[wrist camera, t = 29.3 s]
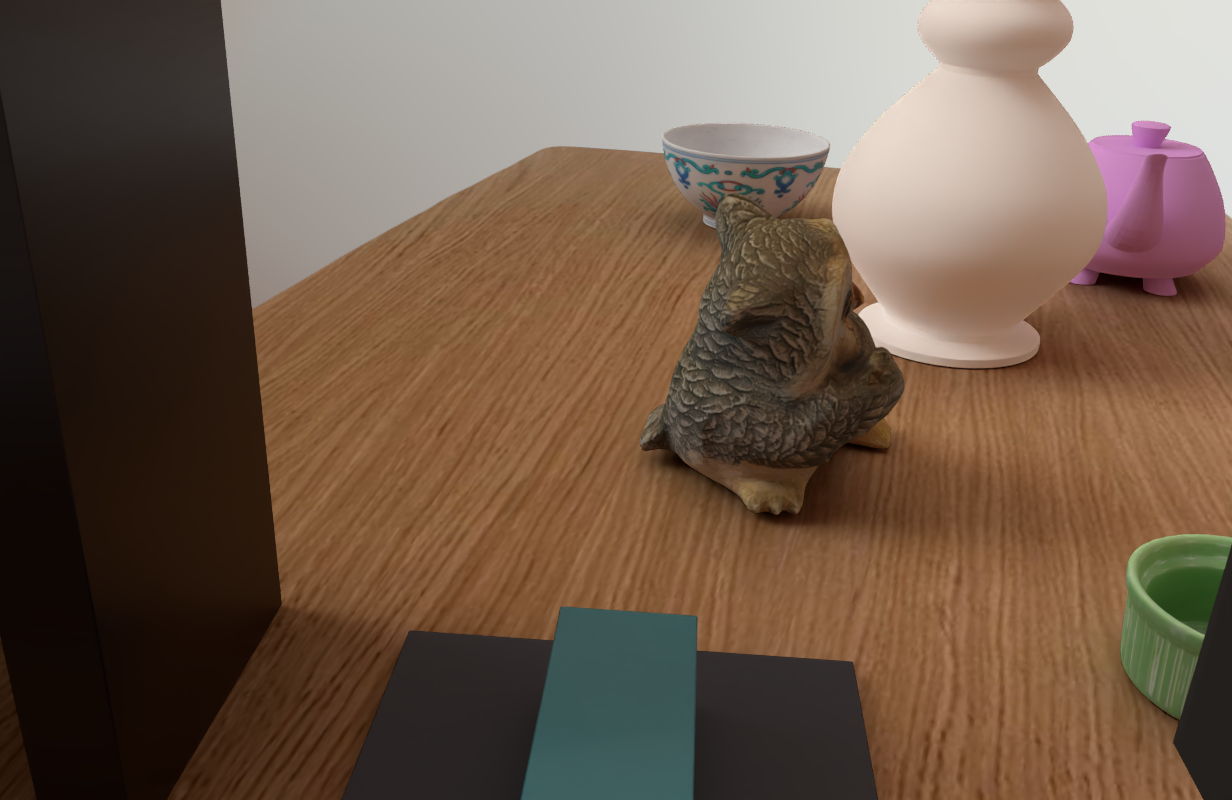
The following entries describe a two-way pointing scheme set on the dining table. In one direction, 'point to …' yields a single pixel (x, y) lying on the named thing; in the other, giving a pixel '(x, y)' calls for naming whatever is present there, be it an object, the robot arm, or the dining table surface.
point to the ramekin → (1170, 613)
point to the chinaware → (743, 164)
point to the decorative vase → (972, 191)
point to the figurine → (775, 362)
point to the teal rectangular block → (616, 709)
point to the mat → (510, 700)
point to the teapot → (1155, 209)
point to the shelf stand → (125, 393)
